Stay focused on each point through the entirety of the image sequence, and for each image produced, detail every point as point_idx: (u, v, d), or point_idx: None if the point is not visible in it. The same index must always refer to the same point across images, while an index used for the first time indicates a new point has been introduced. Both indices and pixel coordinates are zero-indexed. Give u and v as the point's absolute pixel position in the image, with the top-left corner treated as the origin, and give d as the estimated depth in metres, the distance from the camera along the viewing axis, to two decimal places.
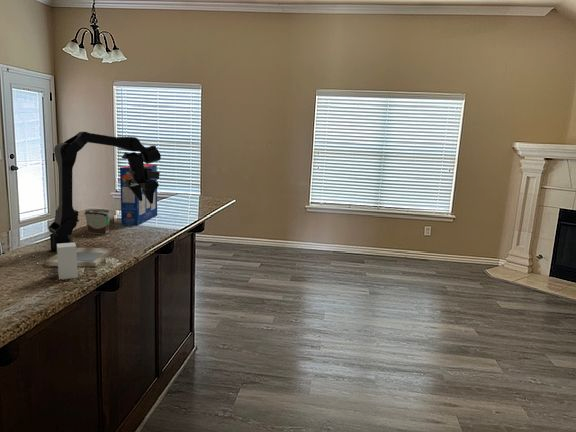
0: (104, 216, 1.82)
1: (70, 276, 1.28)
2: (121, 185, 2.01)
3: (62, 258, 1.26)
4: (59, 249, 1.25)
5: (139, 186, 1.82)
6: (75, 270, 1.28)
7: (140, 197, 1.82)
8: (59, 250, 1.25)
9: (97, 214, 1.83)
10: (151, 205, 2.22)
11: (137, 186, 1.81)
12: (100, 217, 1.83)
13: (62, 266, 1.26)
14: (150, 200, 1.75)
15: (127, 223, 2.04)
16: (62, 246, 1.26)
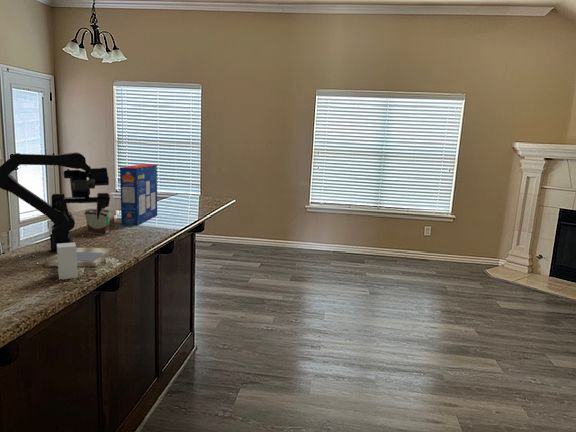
0: (104, 216, 1.82)
1: (70, 276, 1.28)
2: (121, 185, 2.01)
3: (62, 258, 1.26)
4: (59, 249, 1.25)
5: (97, 203, 1.52)
6: (75, 270, 1.28)
7: None
8: (59, 250, 1.25)
9: None
10: (151, 205, 2.22)
11: None
12: (100, 217, 1.83)
13: (62, 266, 1.26)
14: (66, 217, 1.46)
15: (127, 223, 2.04)
16: (62, 246, 1.26)
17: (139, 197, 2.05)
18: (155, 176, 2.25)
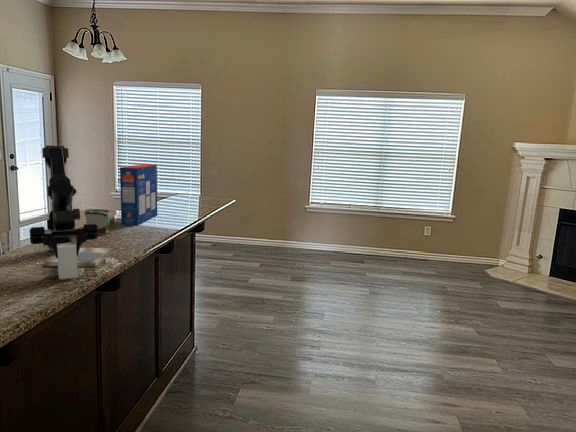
0: (104, 216, 1.82)
1: (70, 276, 1.28)
2: (121, 185, 2.01)
3: (62, 258, 1.26)
4: (59, 249, 1.25)
5: None
6: (75, 270, 1.28)
7: None
8: (59, 250, 1.25)
9: (97, 214, 1.83)
10: (151, 205, 2.22)
11: None
12: (100, 217, 1.83)
13: (62, 266, 1.26)
14: (54, 253, 1.27)
15: (127, 223, 2.04)
16: (62, 246, 1.26)
17: (139, 197, 2.05)
18: (155, 176, 2.25)
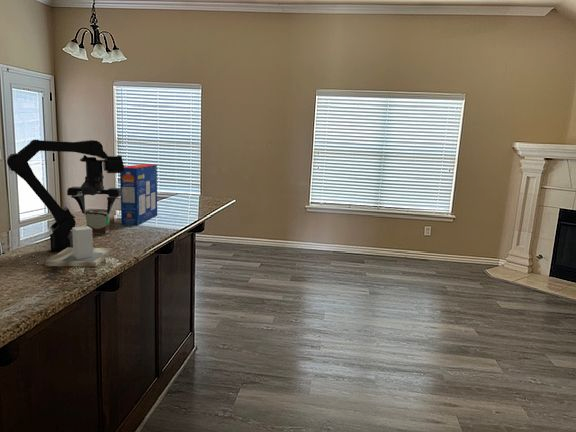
0: (104, 216, 1.82)
1: (87, 256, 1.44)
2: (121, 185, 2.01)
3: (80, 239, 1.41)
4: (78, 231, 1.40)
5: None
6: (91, 250, 1.44)
7: None
8: (78, 232, 1.40)
9: (97, 214, 1.83)
10: (151, 205, 2.22)
11: None
12: (100, 217, 1.83)
13: (80, 247, 1.42)
14: None
15: (127, 223, 2.04)
16: (79, 229, 1.42)
17: (139, 197, 2.05)
18: (155, 176, 2.25)
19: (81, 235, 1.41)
